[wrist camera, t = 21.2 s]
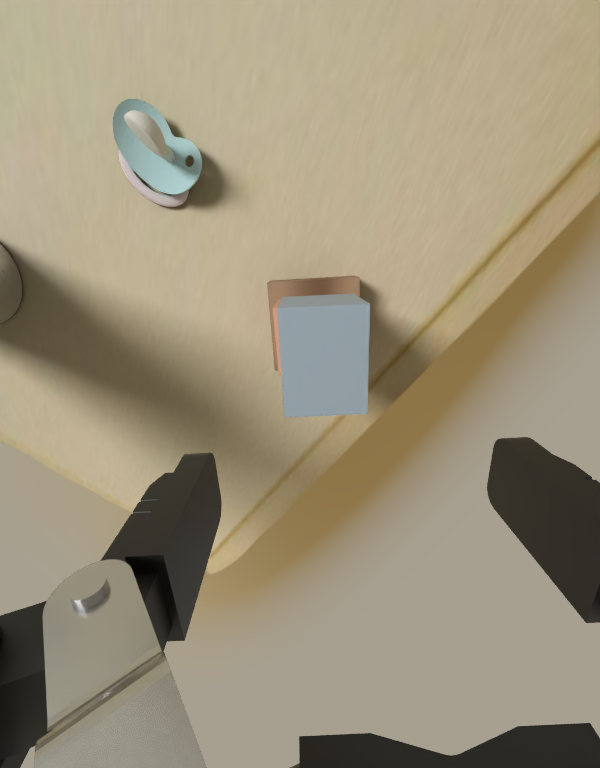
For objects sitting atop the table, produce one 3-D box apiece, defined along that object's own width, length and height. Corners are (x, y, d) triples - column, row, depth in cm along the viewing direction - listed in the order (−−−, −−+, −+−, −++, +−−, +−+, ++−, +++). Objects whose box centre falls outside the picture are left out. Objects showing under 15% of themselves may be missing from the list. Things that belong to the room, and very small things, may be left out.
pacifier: (179, 224, 31) (217, 165, 29) (149, 218, 25) (194, 143, 23) (107, 163, 29) (143, 97, 27) (57, 141, 23) (98, 55, 21)
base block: (276, 361, 35) (274, 370, 32) (270, 280, 32) (267, 282, 29) (354, 357, 35) (359, 365, 32) (354, 275, 32) (359, 277, 29)
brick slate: (352, 380, 26) (367, 414, 20) (287, 383, 26) (284, 417, 20) (353, 293, 24) (370, 303, 18) (282, 296, 24) (277, 308, 18)
